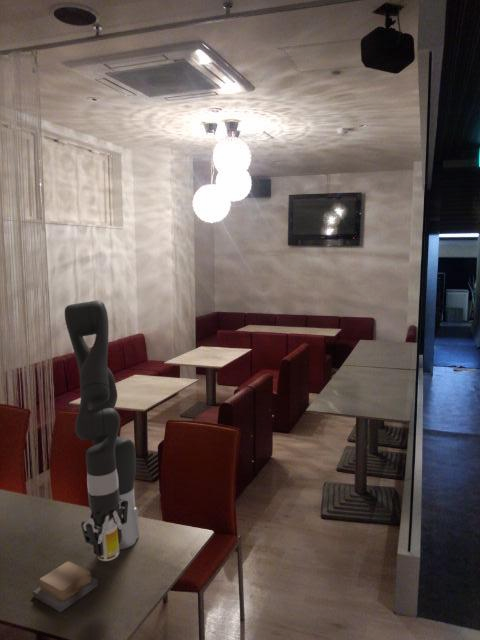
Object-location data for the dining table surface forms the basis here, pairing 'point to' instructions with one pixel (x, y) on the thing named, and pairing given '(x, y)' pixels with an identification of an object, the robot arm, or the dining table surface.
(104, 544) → the supplement bottle
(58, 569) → the pedestal
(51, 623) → the dining table surface
